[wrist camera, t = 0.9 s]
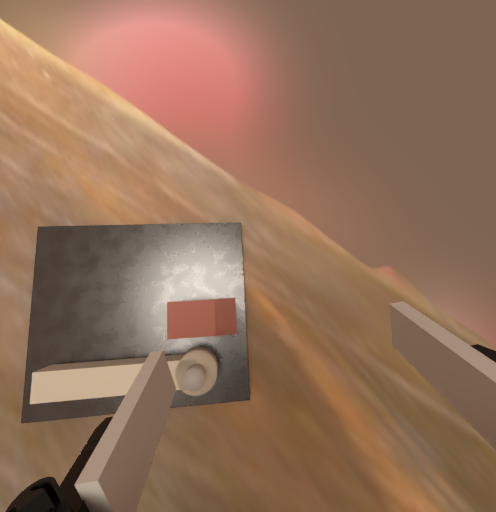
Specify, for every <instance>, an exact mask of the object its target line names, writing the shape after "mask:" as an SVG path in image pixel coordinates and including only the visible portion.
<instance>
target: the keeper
mask: <svg viewBox="0 0 496 512" xmlns="http://www.w3.org/2000/svg"><path fill="white" fill-rule="evenodd" d="M223 335H237V320H236V298H225V299H210V300H193V301H175V302H167V339H181V338H195V337H209V336H223Z"/></svg>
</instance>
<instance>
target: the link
mask: <svg viewBox="0 0 496 512" xmlns="http://www.w3.org/2000/svg"><path fill="white" fill-rule="evenodd" d="M165 357H166V360H167V363H168V366H169V369H170V372H171V375H172V378H173V381H174V383H175V386H176V390H181V391H183V392H184V393H185V394H188V395H191V396H199V395H202V394H205V393H206V392H208V391H209V390H210V389H211V388H212V387H213V385H214V384H215V381H216V378H217V369H218V363H217V358H216V356H215V354H214V353H213V352H212V351H211V350H210V349H208V348H206V347H194V348H192V349H190V350H188V351H187V352H186V353H185V354H180V355H168V356H165ZM146 359H147V357H143V358H130V359H118V360H105V361H92V362H80V363H67V364H55V365H50V366H48V367H45V368H43V369H40V370H38V371H35V372H33V373H32V382H31V395H30V404H38V403H49V402H59V401H70V400H80V399H91V398H101V397H112V396H122V395H126V394H127V392H128V390H129V389H130V387H131V385H132V383H133V382H134V380H135V378H136V376H137V375H138V373H139V371H140V369H141V368H142V366H143V364H144V362H145V361H146Z"/></svg>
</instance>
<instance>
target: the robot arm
mask: <svg viewBox="0 0 496 512" xmlns="http://www.w3.org/2000/svg"><path fill="white" fill-rule="evenodd" d="M390 316H391V330H392V344H393V347H394V348H395V349H396V350H397V351H398V352H399V353H400V354H401V355H402V356H403V357H404V358H405V359H406V360H407V361H408V362H409V363H410V364H411V365H412V366H413V367H414V368H415V369H416V370H417V371H418V372H419V373H420V374H421V375H422V376H423V377H424V378H425V379H426V380H427V381H428V382H429V383H430V384H431V385H432V386H433V387H434V388H435V389H436V390H437V391H438V392H439V393H440V394H441V395H442V396H443V397H444V398H445V399H446V400H447V401H448V402H449V403H450V404H451V405H452V406H453V407H454V408H455V409H456V410H457V411H458V412H459V413H460V414H461V415H462V416H463V417H464V418H465V419H466V420H467V421H468V422H469V423H470V424H471V425H472V426H473V427H474V428H475V429H476V430H477V431H478V432H479V433H480V435H481V436H482V437H483V438H484V439H485V440H486V441H487V442H488V443H489V444H490V445H491V446H492V447H493V448H494V449H495V450H496V351H494V350H491V349H489V348H486V347H483V346H481V345H478V344H477V345H472V346H470V345H468V344H467V343H465V342H464V341H462V340H461V339H459V338H458V337H456V336H455V335H453V334H452V333H450V332H449V331H447V330H446V329H444V328H443V327H441V326H440V325H438V324H437V323H435V322H434V321H432V320H431V319H429V318H428V317H426V316H424V315H423V314H421V313H420V312H418V311H417V310H415V309H414V308H412V307H411V306H409V305H408V304H406V303H405V302H398V303H393V304H390ZM175 392H176V386H175V383H174V381H173V378H172V375H171V372H170V369H169V366H168V363H167V360H166V357H165V354H164V351H163V350H160V351H155V352H150V354H149V355H148V357H147V359H146V361H145V362H144V364H143V366H142V368H141V369H140V371H139V373H138V375H137V376H136V378H135V380H134V382H133V383H132V385H131V387H130V389H129V390H128V392H127V394H126V396H125V397H124V399H123V401H122V403H121V404H120V406H119V408H118V410H117V411H116V413H115V415H114V416H113V417H108V418H106V419H105V420H104V421H103V422H102V423H101V424H100V425H99V426H98V427H97V428H96V429H95V430H94V432H93V434H92V435H91V437H90V438H89V440H88V442H87V444H86V445H85V446H84V448H83V450H82V451H81V455H79V456H78V458H77V459H76V461H75V463H74V464H73V466H72V467H71V469H70V471H69V472H68V474H67V475H66V477H65V479H64V480H63V482H62V484H61V485H60V487H59V485H58V484H57V482H56V480H55V478H53V477H46V478H43V479H40V480H38V481H36V482H35V483H33V484H31V485H30V486H29V487H27V488H26V489H25V490H24V491H22V492H21V493H20V494H19V495H18V496H17V497H16V499H15V500H14V501H13V502H12V503H11V504H10V506H9V507H8V509H7V510H6V512H136V509H137V506H138V503H139V500H140V497H141V494H142V491H143V488H144V485H145V482H146V479H147V476H148V473H149V470H150V467H151V464H152V461H153V458H154V455H155V452H156V449H157V446H158V443H159V440H160V437H161V434H162V431H163V428H164V425H165V422H166V419H167V416H168V413H169V410H170V407H171V404H172V401H173V398H174V395H175Z"/></svg>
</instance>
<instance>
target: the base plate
mask: <svg viewBox="0 0 496 512" xmlns="http://www.w3.org/2000/svg"><path fill="white" fill-rule="evenodd" d="M225 298H236V320H237V335H223V336H209V337H195V338H181V339H167V302H175V301H193V300H210V299H225ZM194 347H206V348H208V349H210V350H211V351H212V352H213V353H214V354H215V356H216V358H217V363H218V369H217V378H216V381H215V384H214V385H213V387H212V388H211V389H210V390H209V391H208V392H206V393H205V394H202V395H199V396H191V395H188V394H185V393H184V392H183V391H181V390H176V392H175V395H174V398H173V401H172V404H171V407H170V408H176V407H186V406H195V405H205V404H215V403H225V402H234V401H244V400H250V392H249V373H248V353H247V334H246V314H245V295H244V275H243V256H242V236H241V223H193V224H146V225H98V226H51V227H38V232H37V244H36V256H35V267H34V279H33V291H32V302H31V314H30V325H29V337H28V349H27V360H26V372H25V384H24V395H23V407H22V419H21V423H30V422H40V421H50V420H59V419H69V418H79V417H88V416H98V415H108V414H115V413H116V411H117V410H118V408H119V406H120V404H121V403H122V401H123V399H124V397H125V396H126V395H122V396H112V397H101V398H91V399H80V400H70V401H59V402H49V403H38V404H30V395H31V382H32V373H33V372H35V371H38V370H40V369H43V368H45V367H48V366H50V365H55V364H67V363H80V362H92V361H105V360H118V359H130V358H143V357H148V355H149V354H150V352H155V351H160V350H163V351H164V354H165V356H168V355H180V354H185V353H186V352H187V351H188V350H190V349H192V348H194Z"/></svg>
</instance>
